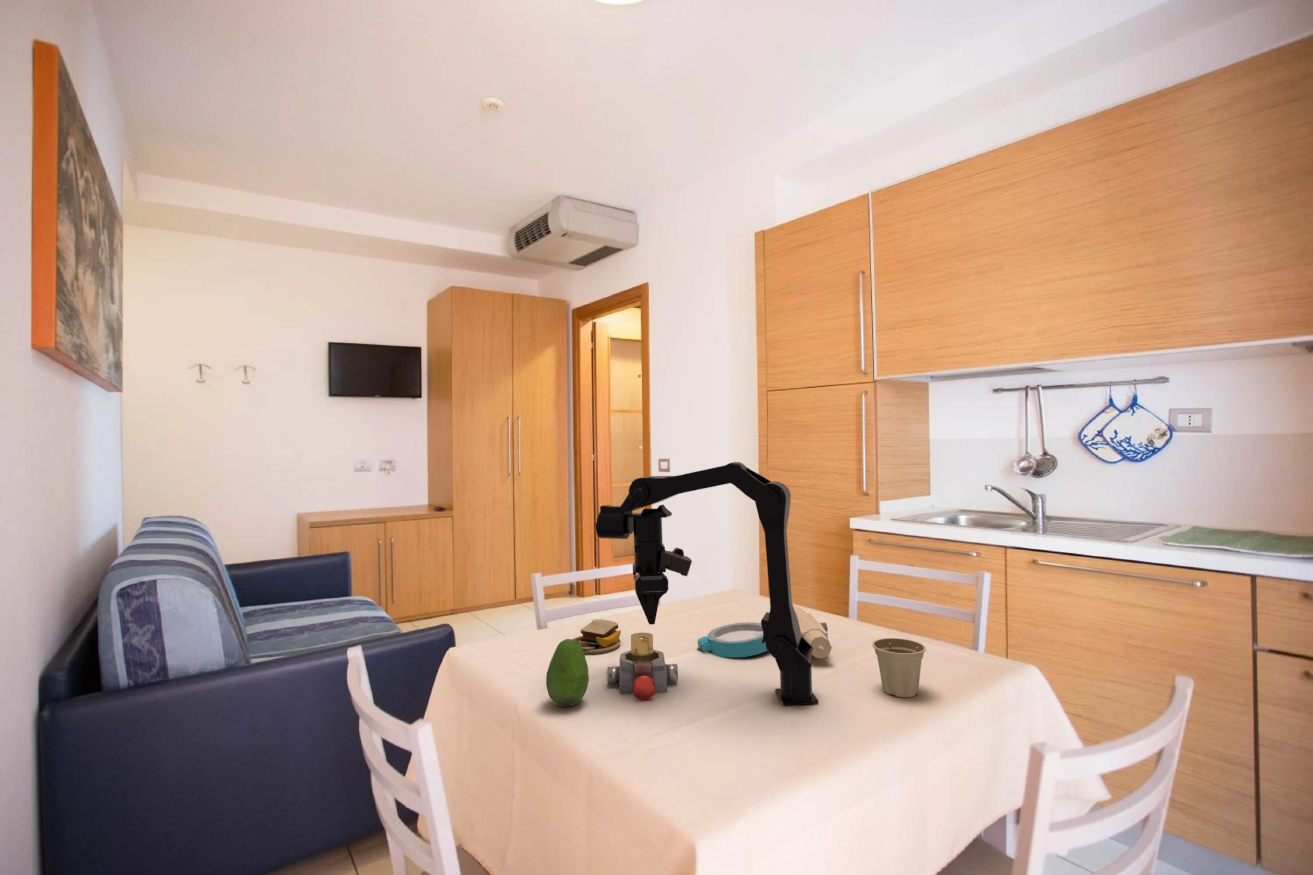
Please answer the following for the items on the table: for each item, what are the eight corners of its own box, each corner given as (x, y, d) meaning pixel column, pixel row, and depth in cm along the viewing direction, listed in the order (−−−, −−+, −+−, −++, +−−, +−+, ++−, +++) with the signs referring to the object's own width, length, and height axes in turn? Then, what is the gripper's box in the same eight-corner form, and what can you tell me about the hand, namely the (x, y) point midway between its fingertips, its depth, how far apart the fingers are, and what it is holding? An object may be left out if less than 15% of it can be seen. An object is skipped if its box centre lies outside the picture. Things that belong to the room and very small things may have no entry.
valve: (681, 698, 115) (680, 669, 115) (606, 702, 114) (606, 672, 114) (675, 673, 127) (674, 647, 127) (608, 676, 126) (607, 649, 126)
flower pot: (862, 686, 118) (861, 641, 119) (900, 678, 122) (898, 634, 122) (899, 705, 110) (898, 656, 110) (938, 695, 113) (937, 648, 114)
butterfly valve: (703, 683, 129) (846, 665, 128) (698, 650, 129) (841, 632, 129) (697, 642, 156) (816, 627, 155) (694, 615, 156) (812, 600, 155)
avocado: (593, 709, 111) (591, 642, 111) (549, 716, 109) (547, 647, 109) (585, 693, 118) (584, 630, 119) (544, 698, 116) (542, 634, 116)
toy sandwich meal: (556, 649, 145) (556, 629, 145) (595, 635, 156) (595, 616, 156) (596, 659, 137) (595, 638, 138) (634, 643, 148) (633, 623, 148)
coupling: (654, 667, 120) (653, 638, 120) (631, 668, 120) (630, 639, 120) (652, 659, 125) (652, 631, 125) (631, 660, 124) (630, 632, 124)
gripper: (693, 545, 115) (696, 629, 115) (683, 531, 134) (685, 604, 133) (634, 547, 114) (636, 632, 114) (631, 533, 133) (633, 606, 133)
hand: (650, 617), depth 123 cm, fingers open, 9 cm apart
